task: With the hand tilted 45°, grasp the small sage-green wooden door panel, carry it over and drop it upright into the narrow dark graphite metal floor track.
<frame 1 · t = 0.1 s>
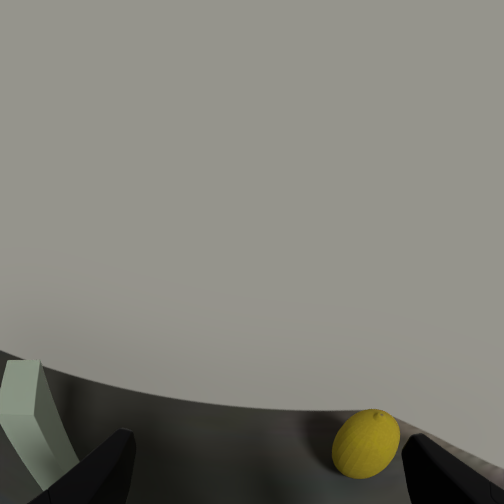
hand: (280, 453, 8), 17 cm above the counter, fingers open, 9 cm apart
lemon: (350, 471, 23), on the counter
door panel: (70, 486, 17), on the counter
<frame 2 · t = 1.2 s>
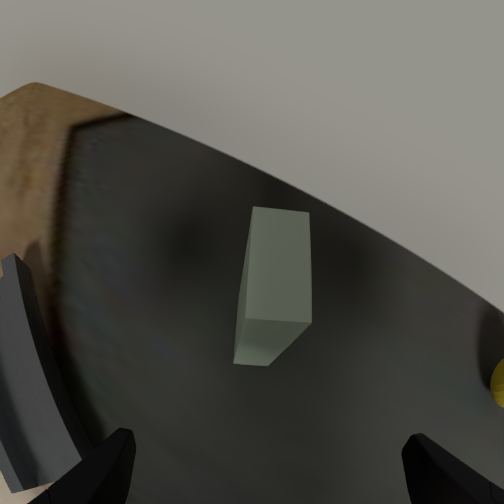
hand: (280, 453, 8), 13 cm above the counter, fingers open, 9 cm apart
track: (20, 376, 19), on the counter
lemon: (491, 387, 22), on the counter
door panel: (252, 332, 23), on the counter
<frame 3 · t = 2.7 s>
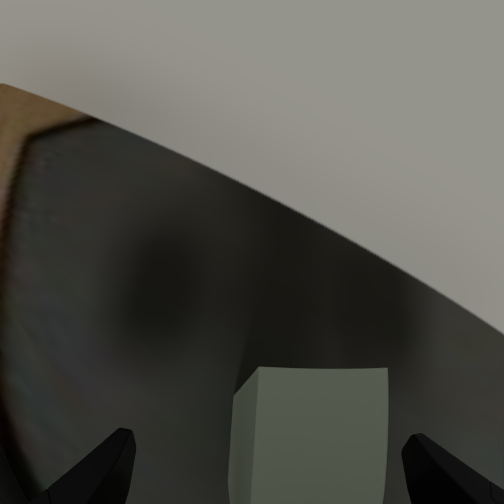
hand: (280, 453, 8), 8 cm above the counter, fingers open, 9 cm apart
door panel: (254, 440, 15), on the counter
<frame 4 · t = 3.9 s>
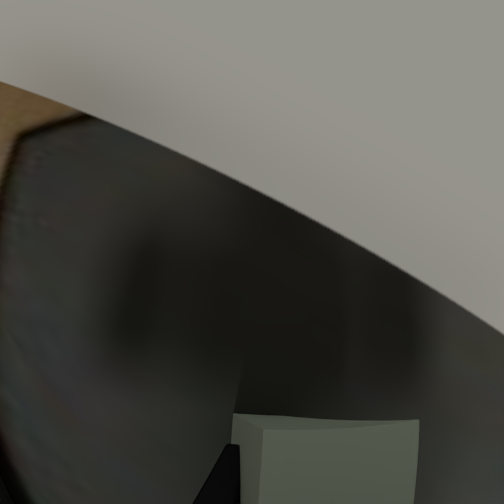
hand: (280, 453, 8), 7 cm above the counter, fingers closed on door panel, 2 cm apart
door panel: (255, 460, 13), on the counter, touching gripper
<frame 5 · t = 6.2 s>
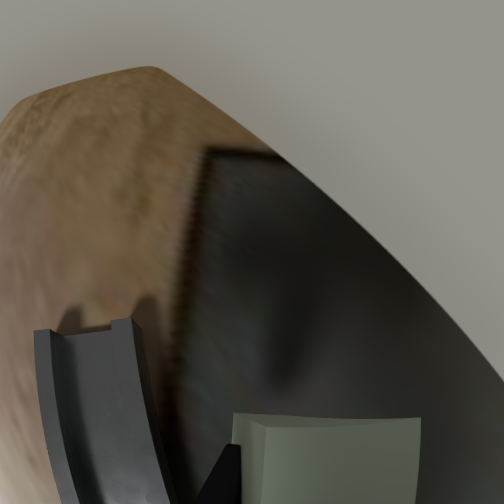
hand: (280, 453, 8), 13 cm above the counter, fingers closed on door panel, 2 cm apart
track: (112, 449, 18), on the counter
door panel: (255, 460, 13), point 7 cm above the counter, touching gripper
when the fingers open (9 cm above the counter, at t = 8.3 s): door panel drops 1 cm, resting on track.
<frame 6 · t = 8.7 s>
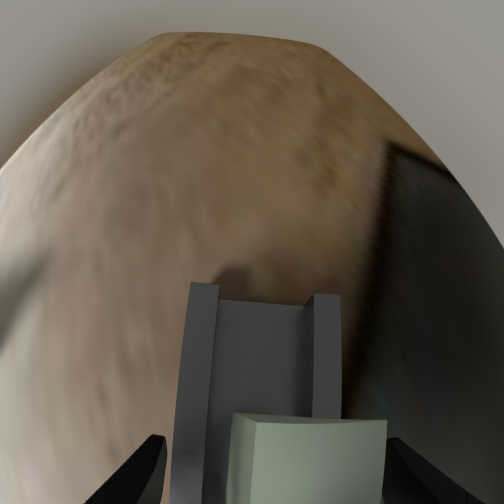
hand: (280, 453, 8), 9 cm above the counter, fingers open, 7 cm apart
track: (251, 455, 15), on the counter
door panel: (252, 456, 14), point 1 cm above the counter, touching track
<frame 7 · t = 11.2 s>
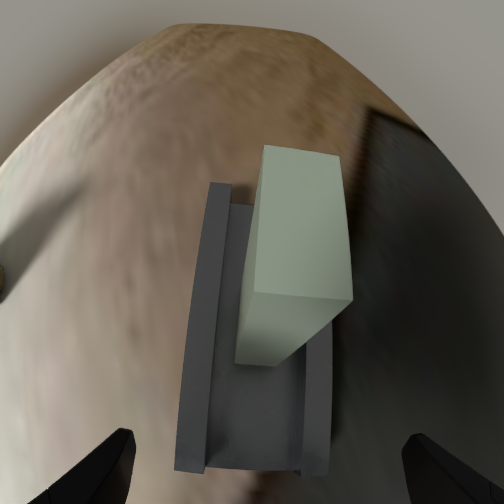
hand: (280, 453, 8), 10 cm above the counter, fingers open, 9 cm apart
track: (256, 329, 20), on the counter
door panel: (257, 325, 19), point 1 cm above the counter, touching track
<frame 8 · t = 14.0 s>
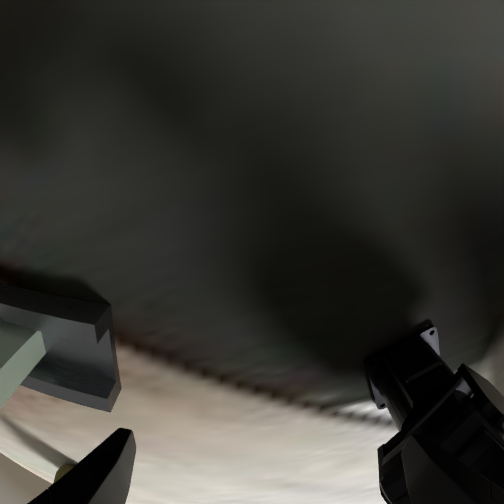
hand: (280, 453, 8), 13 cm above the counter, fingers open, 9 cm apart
track: (26, 329, 21), on the counter
door panel: (21, 334, 21), point 1 cm above the counter, touching track
fennel bulb: (78, 470, 28), on the counter
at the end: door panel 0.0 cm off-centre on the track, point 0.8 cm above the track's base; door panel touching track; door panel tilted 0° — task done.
